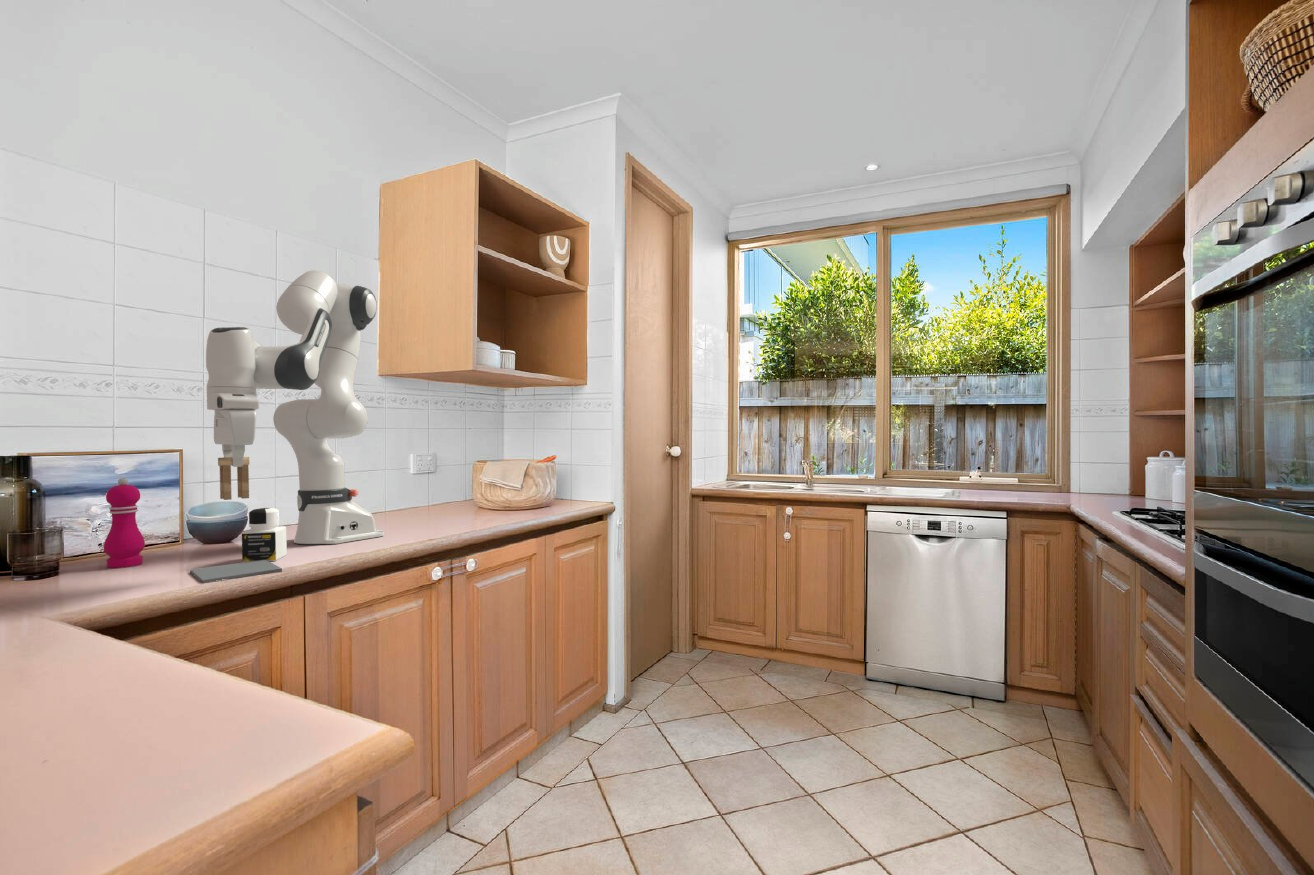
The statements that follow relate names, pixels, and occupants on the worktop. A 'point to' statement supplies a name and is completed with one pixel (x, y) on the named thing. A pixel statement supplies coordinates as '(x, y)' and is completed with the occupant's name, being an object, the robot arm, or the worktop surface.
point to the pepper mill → (123, 527)
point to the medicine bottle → (264, 536)
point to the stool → (225, 478)
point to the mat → (235, 570)
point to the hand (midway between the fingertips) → (233, 466)
